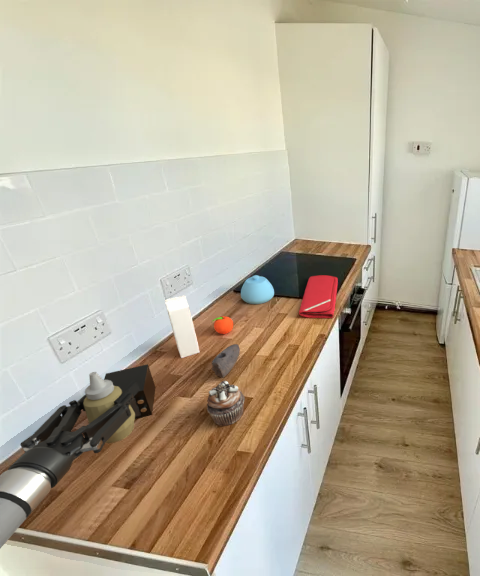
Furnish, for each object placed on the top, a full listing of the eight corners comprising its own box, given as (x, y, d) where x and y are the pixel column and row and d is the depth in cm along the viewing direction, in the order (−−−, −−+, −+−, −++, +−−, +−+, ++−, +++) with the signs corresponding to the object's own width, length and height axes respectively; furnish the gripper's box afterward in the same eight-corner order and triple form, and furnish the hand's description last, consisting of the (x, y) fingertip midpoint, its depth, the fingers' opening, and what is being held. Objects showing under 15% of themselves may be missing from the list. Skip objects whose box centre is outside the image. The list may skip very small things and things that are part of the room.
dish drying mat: (338, 280, 179) (338, 274, 178) (334, 318, 143) (334, 311, 141) (309, 279, 178) (309, 273, 176) (297, 318, 141) (297, 311, 139)
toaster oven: (106, 431, 86) (94, 405, 82) (115, 397, 96) (105, 373, 92) (151, 418, 90) (142, 393, 86) (155, 387, 101) (148, 364, 97)
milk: (178, 350, 118) (162, 296, 108) (196, 344, 121) (183, 291, 112) (181, 358, 113) (165, 303, 104) (200, 352, 117) (187, 298, 107)
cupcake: (201, 423, 89) (194, 396, 85) (226, 398, 98) (220, 372, 94) (231, 432, 87) (225, 404, 83) (253, 406, 96) (249, 380, 91)
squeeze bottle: (135, 414, 82) (113, 356, 74) (143, 434, 76) (120, 374, 69) (94, 432, 76) (65, 372, 68) (99, 455, 71) (68, 393, 63)
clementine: (211, 338, 125) (208, 323, 122) (213, 329, 130) (210, 314, 127) (234, 335, 127) (231, 320, 124) (235, 326, 133) (232, 311, 130)
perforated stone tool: (232, 352, 118) (230, 337, 115) (246, 354, 117) (244, 338, 114) (209, 381, 104) (205, 364, 101) (224, 382, 104) (221, 365, 101)
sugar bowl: (234, 302, 151) (230, 280, 146) (253, 289, 164) (250, 268, 159) (264, 307, 148) (261, 284, 143) (280, 293, 161) (278, 272, 156)
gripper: (-21, 494, 57) (82, 397, 78) (96, 492, 58) (167, 397, 79) (-43, 466, 54) (71, 372, 74) (81, 464, 55) (159, 373, 76)
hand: (120, 385), depth 77 cm, fingers closed on squeeze bottle, 6 cm apart
